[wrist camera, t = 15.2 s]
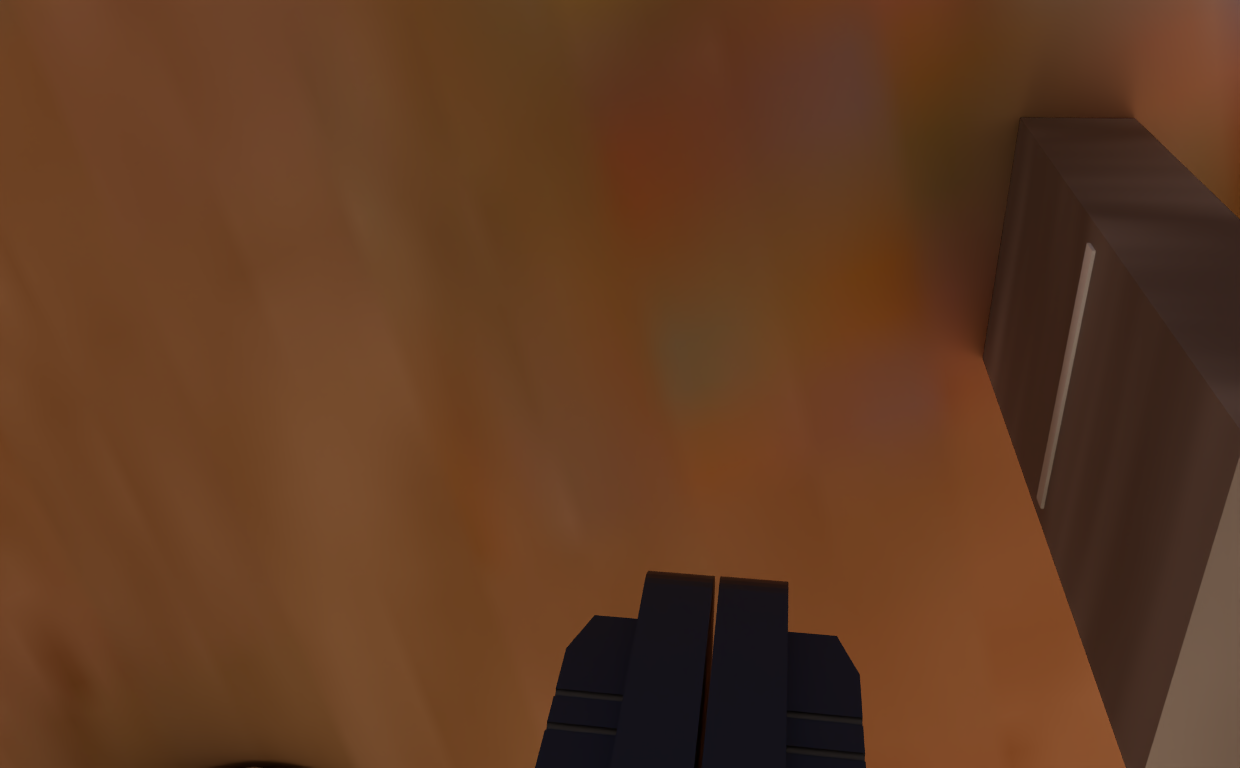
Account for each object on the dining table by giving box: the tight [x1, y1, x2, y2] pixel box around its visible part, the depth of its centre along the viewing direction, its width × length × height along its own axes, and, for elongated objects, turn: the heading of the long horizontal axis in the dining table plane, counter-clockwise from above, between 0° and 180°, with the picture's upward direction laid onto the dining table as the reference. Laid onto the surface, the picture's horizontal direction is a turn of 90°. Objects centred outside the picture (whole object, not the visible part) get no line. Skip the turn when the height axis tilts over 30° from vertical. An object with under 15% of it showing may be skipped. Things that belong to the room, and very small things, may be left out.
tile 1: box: [983, 118, 1240, 768], centre depth 16 cm, size 2×5×11 cm, turn 2°
